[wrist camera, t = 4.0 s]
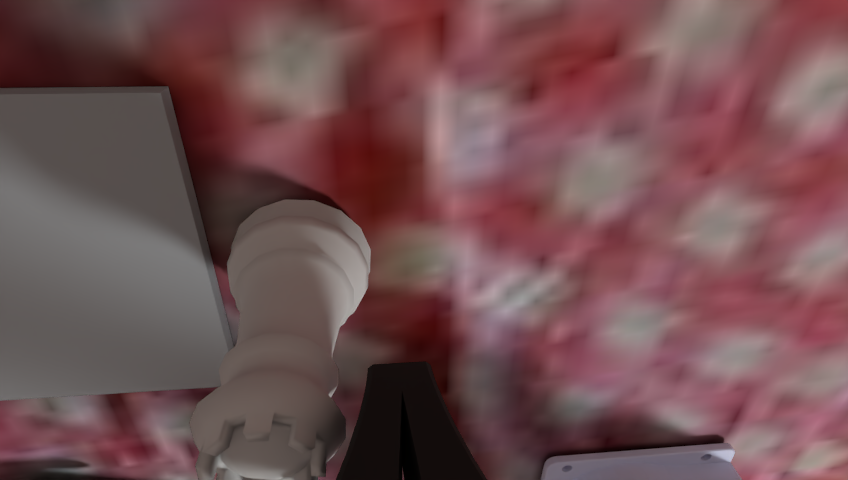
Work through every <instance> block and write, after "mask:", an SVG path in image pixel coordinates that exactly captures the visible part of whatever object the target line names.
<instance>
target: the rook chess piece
mask: <svg viewBox="0 0 848 480" xmlns="http://www.w3.org/2000/svg"><path fill="white" fill-rule="evenodd" d="M370 254H371V249H370V247H369V245H368V243H367V241H366V239H365V236H364V234H363V232H362V230H361V228H360V227H359V226H358V225H357V224H355V223H354V222H353V221H352V220H351V219H350V218H349V217H348V216H346V215H345V214H344V213H343V212H342V211H341V210H338V209H335V208H333V207H330V206H328V205H325V204H322V203H320V202H317V201H315V200H288V199H285V200H282V201H279V202H276V203H273V204H270V205H267V206H264V207H261V208H258V209H257V210H256V211H255V212H254V213H252V214H251V215H250V216H249V217H248V218H247V219H246V220H245V221H244V222H242V223H241V224H240V225H239V227H238V230H237V233H236V235H235V238H234V240H233V243H232V246H231V254H230V256H229V259H228V262H227V271H228V278H229V285H230V292H231V294H232V296H233V297H234V299H235V301H236V307H237V309H238V310H239V311H240V319H239V328H238V337H237V343H236V346H235V347H234V348H233V349H231V350H230V351H229V352H228V353H226V354H225V356H224V359H223V361H222V363H221V366H220V368H219V375H220V381H221V386H220V387H218V388H217V389H215V390H214V391H213V392H211V393H210V394H209V395H208V396H206V397H205V398H204V399H202V400H201V401H200V402H198V403H197V405H196V408H195V410H194V413H193V415H192V418H191V420H190V422H189V424H190V428H191V432H192V436H193V440H194V443H195V445H196V446H197V448H198V450H199V451H200V453H199V457H198V460H197V463H196V466H195V467H196V471H197V475H198V479H199V480H214V476H215V473H217V474H218V475H217V478H216V480H318V476H319V477H326V463H327V462H328V461H329V460H330V459H331V458H332V457H333V456H334V455H335V453H336V452H337V450H338V449H339V447H340V446H341V444H342V443H343V441H344V440H345V438H346V419H345V417H344V416H343V414H342V413H341V411H340V410H339V408H338V406H337V405H336V403H335V402H334V400H333V399H332V398H331V397H332V395H333V393H334V392H335V390H336V388H337V387H338V385H339V369H338V367H337V366H336V364H335V362H334V361H333V359H332V356H333V351H334V347H335V343H336V340H337V336H338V332H339V328H340V326H342V325H343V324H344V323H345V322H346V320H347V318H348V317H349V316H350V315H351V314H353V313H354V312H355V310H356V308H357V307H358V305H359V303H360V301H361V300H362V298H363V296H364V294H365V292H366V290H367V288H368V274H369V272H370Z"/></svg>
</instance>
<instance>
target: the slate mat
mask: <svg viewBox="0 0 848 480" xmlns="http://www.w3.org/2000/svg"><path fill="white" fill-rule="evenodd" d="M233 348H234V345H233V341H232V337H231V333H230V329H229V325H228V321H227V317H226V313H225V309H224V305H223V301H222V297H221V293H220V289H219V285H218V281H217V277H216V274H215V270H214V266H213V262H212V258H211V254H210V250H209V246H208V242H207V238H206V234H205V230H204V226H203V222H202V218H201V214H200V210H199V206H198V202H197V198H196V194H195V191H194V187H193V183H192V179H191V175H190V171H189V167H188V163H187V159H186V155H185V151H184V147H183V143H182V139H181V135H180V131H179V127H178V123H177V119H176V115H175V112H174V108H173V104H172V100H171V96H170V92H169V88H168V86H153V87H51V88H0V401H1V400H18V399H34V398H50V397H66V396H82V395H98V394H114V393H130V392H146V391H162V390H178V389H195V388H211V387H220V386H221V381H220V375H219V368H220V366H221V363H222V361H223V359H224V356H225V354H226V353H228V352H229V351H230V350H231V349H233Z"/></svg>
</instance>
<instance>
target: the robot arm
mask: <svg viewBox="0 0 848 480" xmlns="http://www.w3.org/2000/svg"><path fill="white" fill-rule="evenodd" d="M734 454H735V451H734V449H733V448H732V446H731V445H730V444H728V443H717V444H704V445H692V446H679V447H666V448H653V449H641V450H628V451H615V452H603V453H590V454H577V455H565V456H554V457H551V458H549V459H548V460H546V462H545V464H544V468H543V472H542V476H541V480H742V479H741V477H740V476H739V474H738V473H737V471H736V470H735V468H734V467H733V465H732V464H731V463H730V462H731V460H732V458H733V456H734ZM402 466H403V473H404V480H487V479H486V478H485V476H484V474H483V473H482V471H481V469H480V468H479V466H478V464H477V463H476V461H475V460H474V458H473V456H472V454H471V453H470V451H469V449H468V447H467V446H466V444H465V442H464V440H463V438H462V436H461V434H460V433H459V431H458V429H457V427H456V425H455V423H454V421H453V419H452V417H451V415H450V413H449V411H448V409H447V407H446V405H445V402H444V400H443V398H442V396H441V393H440V391H439V389H438V386H437V383H436V381H435V378H434V375H433V372H432V369H431V365H430V364H428V363H427V362H409V363H392V364H375V365H372V366H370V367H369V368H368V374H367V382H366V388H365V393H364V398H363V402H362V406H361V409H360V413H359V417H358V420H357V423H356V426H355V429H354V432H353V435H352V438H351V442H350V445H349V448H348V450H347V453H346V456H345V458H344V461H343V463H342V466H341V469H340V471H339V474H338V476H337V479H336V480H402Z"/></svg>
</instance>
